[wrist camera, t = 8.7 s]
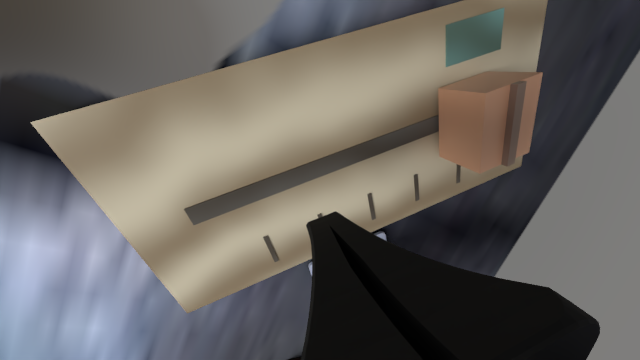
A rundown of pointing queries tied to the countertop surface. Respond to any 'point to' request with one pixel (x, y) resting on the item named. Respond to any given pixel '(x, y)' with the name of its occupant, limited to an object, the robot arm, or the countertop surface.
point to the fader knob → (488, 118)
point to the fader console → (288, 144)
